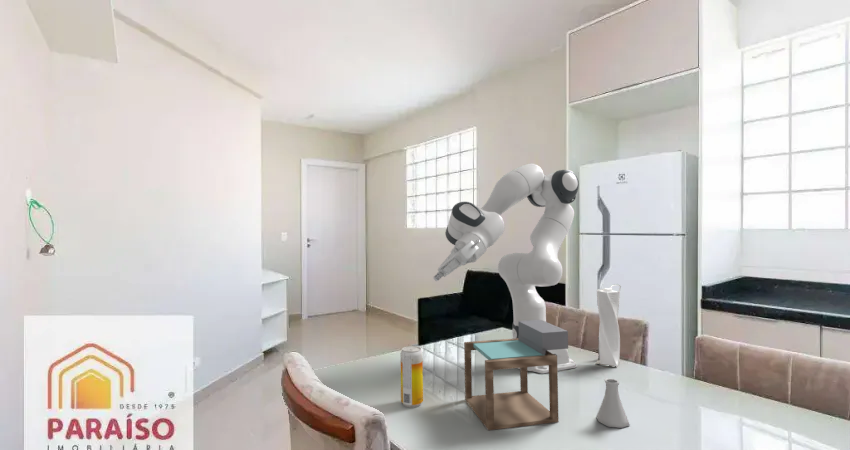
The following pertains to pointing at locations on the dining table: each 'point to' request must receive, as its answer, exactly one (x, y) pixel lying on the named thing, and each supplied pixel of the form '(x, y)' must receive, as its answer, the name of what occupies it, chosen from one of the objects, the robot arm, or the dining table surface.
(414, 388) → the beer can
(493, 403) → the stand
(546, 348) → the trapdoor
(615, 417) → the flask
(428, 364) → the dining table surface
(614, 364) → the skyscraper
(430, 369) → the dining table surface
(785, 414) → the dining table surface
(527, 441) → the dining table surface
